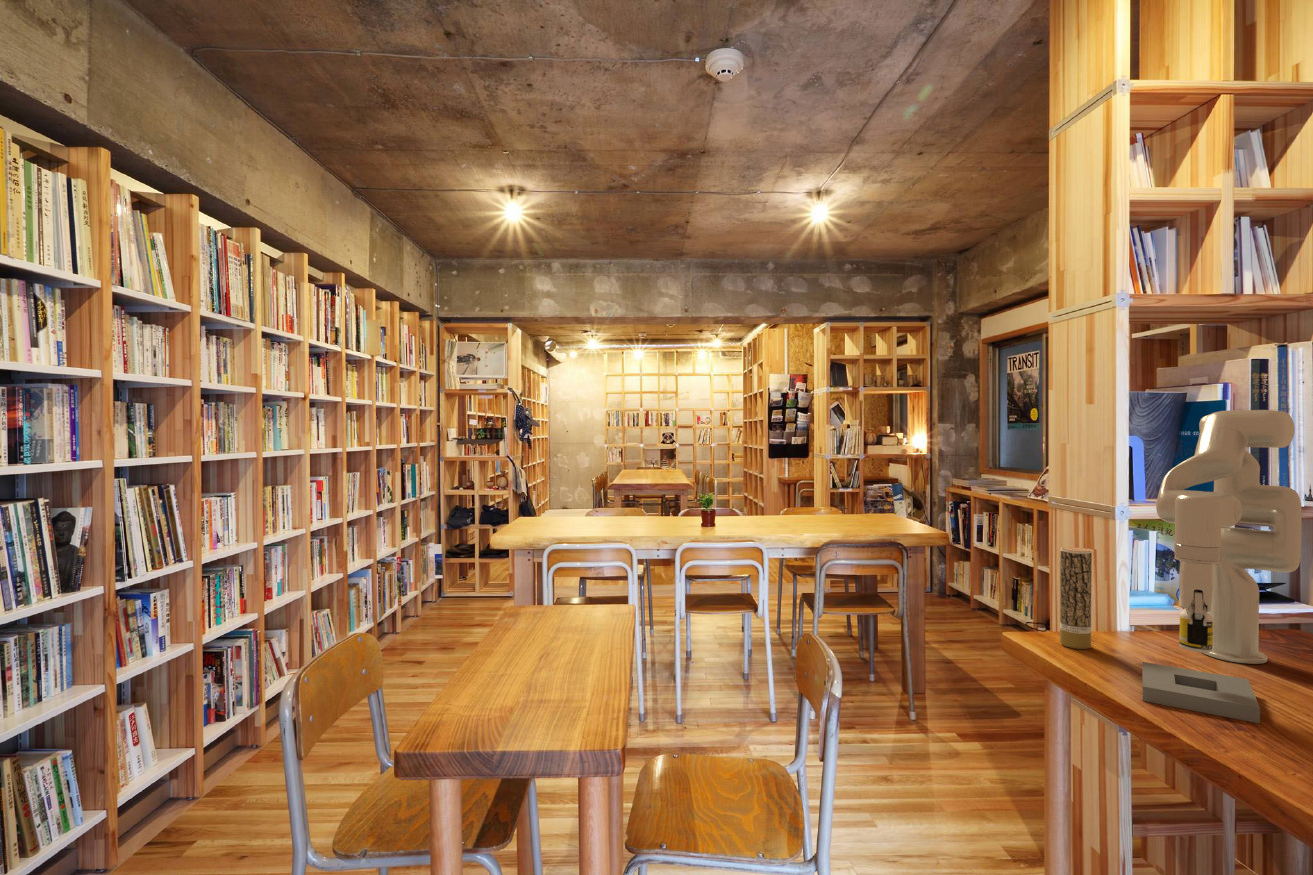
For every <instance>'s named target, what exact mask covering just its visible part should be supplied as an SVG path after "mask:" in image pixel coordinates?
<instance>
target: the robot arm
mask: <svg viewBox="0 0 1313 875" xmlns="http://www.w3.org/2000/svg"><path fill="white" fill-rule="evenodd" d="M1198 426H1199V427H1198V428H1199V436H1198V440H1197V443H1196V447H1195V452H1194V455H1193V456H1191V457H1188V458H1187V459H1186V460H1184V461H1182V462H1180V463H1178V464H1177V465H1176V466H1174V467H1172V468H1171V469H1170V470H1169V471H1168V472H1167V473H1166V474H1165V475H1164V476H1163V478H1162V481H1161V484H1160V486H1159V491H1158V494H1157V498H1156V506H1155V508H1156V513H1157V516H1158V517H1159V519H1160V520H1162V521H1164V522H1165V523H1167V524H1168V523H1169V524H1174V549H1173V552H1174V557H1173V558H1174V560H1177V561H1180V562H1179V576H1178V578H1179V582H1178V583H1179V586H1178V587H1179V588H1178V590H1179V591H1178V593H1179V594H1178V603H1179V607H1180V608H1181V609H1182V610H1186V608H1185V607H1187V608H1188V607H1189V623H1187V642H1188V643H1190V644H1196V645H1203V646H1207V644H1208V626H1206V625H1207V622H1206V613H1207V612H1208V614H1210V615H1211V616H1212V617H1213V647H1212V651H1211V652H1209V653H1203V654H1204V655H1207V656H1209V657H1211V658H1215V659H1218V660H1222V661H1227V662H1231V663H1237V664H1248V665H1261V664H1265V663H1267V662H1268V656H1267V655H1266V654H1265V653H1263V652H1261V651H1260V650H1259V639H1260V638H1259V636H1260V635H1259V633H1260V632H1259V631H1260V630H1259V629H1260V628H1259V626H1260V625H1259V624H1260V623H1259V622H1260V617H1259V616H1260V588H1259V585H1258V583H1257V581H1256V580H1255V579H1254V578H1253V576H1251V574H1250V573H1249V572H1248V571H1247V570H1246V569H1248V570H1259V571H1268V572H1275V573H1293V572H1295V571H1296V570H1297V569H1298V568H1299V566H1300V564H1301V558H1302V557H1301V555H1302V517H1303V516H1302V511H1303V510H1302V502H1301V497H1300V495H1299V493H1298V492H1297V491H1296V490H1294V489H1293V488H1291V487H1288V486H1281V485H1268V484H1267V485H1264V484H1261V482H1260V478H1261V477H1260V474H1261V473H1260V471H1261V466H1260V463H1259V462H1258V460H1257V459H1256V458H1255V457H1254V455H1252V453H1250V452H1249V451H1248V450H1247V449H1246V448H1274V449H1275V448H1276V449H1277V448H1279V449H1280V448H1287V446H1290V444H1291V443H1292V441H1293V439H1294V437H1295V429H1296V428H1295V423H1294V419H1293V418H1292V417H1291V415H1290V414H1289V413H1288V412H1286V411H1281V410H1275V409H1273V410H1272V409H1251V410H1248V409H1243V410H1242V409H1239V410H1237V409H1236V410H1235V409H1234V410H1219V411H1215V412H1212V413H1210V414H1208V415H1205V416H1202V418H1200V421H1199V425H1198ZM1209 482H1213V491H1203V490H1188V488H1190V487H1195V486H1197V485H1201V484H1205V483H1209ZM1238 523H1242V524H1253V525H1263V526H1264V525H1266V526H1270V527H1273V528H1274V529H1275V531H1273V530H1263V529H1262V530H1261V529H1253V528H1242V527H1234V526H1235V525H1236V524H1238ZM1206 605H1207V606H1206ZM1191 606H1195V609H1191ZM1203 608H1204V610H1203ZM1192 612H1194V613H1193V615H1192Z"/></svg>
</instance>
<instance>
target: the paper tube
mask: <svg viewBox="0 0 1313 875" xmlns="http://www.w3.org/2000/svg"><path fill="white" fill-rule="evenodd" d="M1092 554H1093V553H1092V549H1089V548H1084V547H1077V546H1075V547H1074V546H1072V547H1071V546H1064V547H1063V546H1062V547H1060V556H1059V557H1060V562H1059V563H1060V564H1059V565H1060V576H1059V579H1060V581H1059V582H1060V584H1059V585H1060V586H1059V587H1060V589H1059V594H1060V595H1059V596H1060V597H1059V643H1060V644H1061V645H1062V646H1065V647H1067V648H1069V649H1075V650H1087V649H1090V647H1091V645H1092V573H1093V572H1092V566H1093V564H1092V563H1093V562H1092V559H1093V558H1092V557H1093V556H1092Z"/></svg>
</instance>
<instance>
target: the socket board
mask: <svg viewBox="0 0 1313 875" xmlns="http://www.w3.org/2000/svg"><path fill="white" fill-rule="evenodd" d="M1141 676H1142V679H1141V680H1142V682H1141V683H1142V685H1141V686H1142V689H1141V690H1142V695H1143V696H1142V701H1143V702H1146V701H1147V702H1148V703H1153V704H1157V705H1163V706H1167V707H1173V708H1179V709H1184V710H1189V711H1193V712H1199V713H1202V714H1203V713H1204V714H1209V715H1214V716H1218V717H1219V716H1220V717H1224V718H1231V719H1234V720H1240V721H1246V722H1249V723H1255V724H1261V707H1260V704H1259V702H1258V699H1257V698H1256V694H1255V693H1254V689H1253V688H1252V686H1251V684H1250V681H1249V679H1248V678H1244V677H1243V678H1242V677H1237V676H1230V675H1224V674H1219V673H1213V672H1206V671H1200V670H1195V669H1194V670H1193V669H1187V668H1182V667H1178V666H1169V665H1163V664H1159V663H1152V662H1147V661H1146V662H1145V661H1142V674H1141Z"/></svg>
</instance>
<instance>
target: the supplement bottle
mask: <svg viewBox="0 0 1313 875" xmlns="http://www.w3.org/2000/svg"><path fill="white" fill-rule="evenodd" d="M1206 606H1207V605H1206ZM1191 609H1195V606H1191ZM1203 610H1204V608H1203ZM1193 613H1194V612H1192V615H1193ZM1206 622H1207V625H1206V626H1208V644H1207V646H1203V645H1196V644H1190V643H1188V642H1187V623H1189V607H1188V608H1187V607H1185V609H1183V610H1182V611H1181V612H1180V613H1179V634H1178V635H1179V636H1178V637H1179V641H1178V642H1179V643H1178V644H1179V645H1178V646H1179V647H1180V648H1181V649H1184V650H1187V651H1190V652H1195V653H1202V654H1204V653H1209V652H1211V651H1212V647H1213V617H1212V616H1211V615H1210V614H1208V612H1207V613H1206Z"/></svg>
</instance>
